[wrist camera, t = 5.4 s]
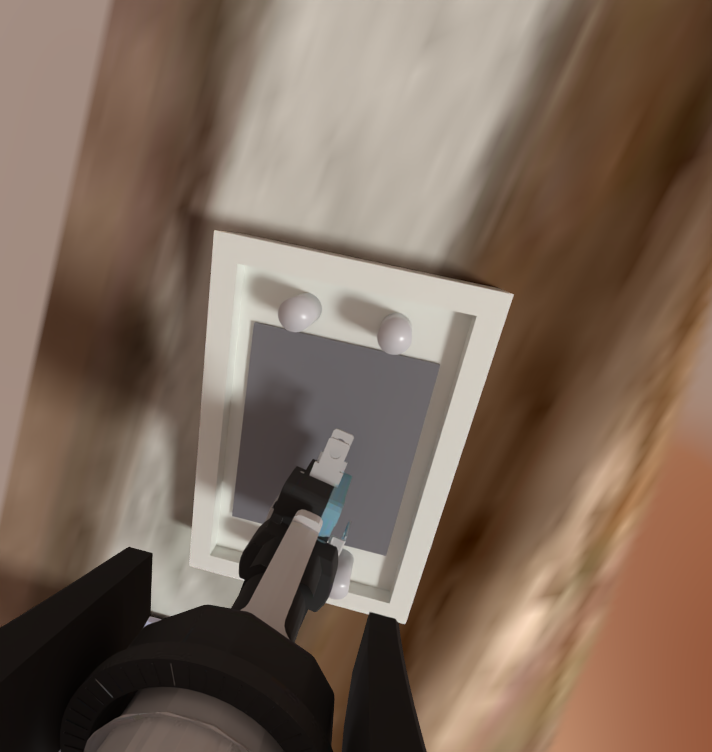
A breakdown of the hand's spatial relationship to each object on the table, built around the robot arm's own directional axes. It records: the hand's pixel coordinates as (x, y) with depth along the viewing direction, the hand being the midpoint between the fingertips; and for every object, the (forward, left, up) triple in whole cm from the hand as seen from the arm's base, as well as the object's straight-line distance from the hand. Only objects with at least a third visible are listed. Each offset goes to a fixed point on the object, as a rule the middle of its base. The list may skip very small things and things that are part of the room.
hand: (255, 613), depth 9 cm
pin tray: (0, 0, -10) cm, 10 cm away
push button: (0, -1, -6) cm, 7 cm away
